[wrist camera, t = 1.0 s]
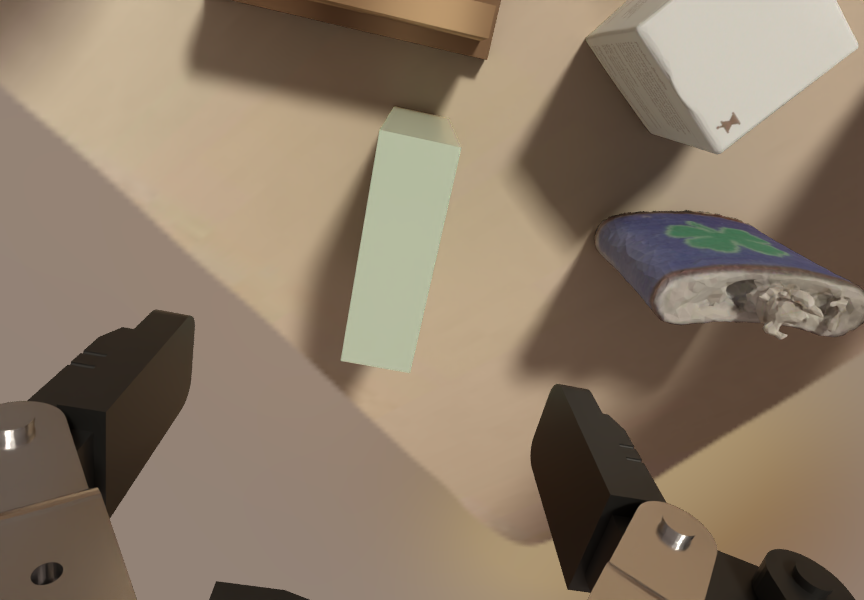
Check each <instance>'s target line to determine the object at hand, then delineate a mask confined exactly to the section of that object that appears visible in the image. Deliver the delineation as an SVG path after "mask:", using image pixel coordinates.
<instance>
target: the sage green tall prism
mask: <svg viewBox="0 0 864 600" xmlns="http://www.w3.org/2000/svg"><path fill="white" fill-rule="evenodd" d="M460 152H461V145H460V143H459V141H458V138H457V136H456V134H455V131H454V129H453V126H452V124H451V122H450V119H449V118H446V117H441V116H437V115H432V114H428V113H423V112H419V111H414V110H410V109H405V108H401V107H396V106H394V107H393V109H392V110H391V112H390V114H389V115H388V117H387V119H386V120H385V122H384V123H383V125H382V127H381V128H380V131H379V137H378V143H377V149H376V154H375V160H374V166H373V172H372V178H371V184H370V190H369V196H368V202H367V208H366V214H365V220H364V225H363V231H362V237H361V243H360V249H359V255H358V261H357V267H356V273H355V279H354V285H353V291H352V297H351V302H350V308H349V314H348V320H347V326H346V332H345V338H344V344H343V350H342V356H341V361H344V362H350V363H356V364H361V365H367V366H373V367H378V368H384V369H390V370H395V371H401V372H407V373H410V371H411V367H412V362H413V358H414V354H415V349H416V345H417V340H418V336H419V332H420V327H421V323H422V318H423V314H424V310H425V305H426V301H427V297H428V292H429V288H430V283H431V279H432V275H433V270H434V266H435V261H436V257H437V253H438V248H439V244H440V239H441V235H442V231H443V226H444V222H445V217H446V213H447V209H448V204H449V200H450V196H451V191H452V187H453V182H454V178H455V174H456V169H457V165H458V160H459V156H460Z"/></svg>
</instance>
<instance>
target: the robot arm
mask: <svg viewBox="0 0 864 600" xmlns="http://www.w3.org/2000/svg"><path fill="white" fill-rule="evenodd" d="M194 330H195V322H194V318H193V317H192V316H189V315H183V314H178V313H173V312H167V311H162V310H154V311H152V312H151V313H150V314H149V315H148V316H147V317H146V318H145V319H144V320H143V321H142V322H141V323H140V324H139V325H138V326H137V327H136V328H135V329H130V328H124V327H122V328H120V329H117V330H115V331H112V332H110V333H108V334H105V335H103V336H100V337H98V338H97V339H96V340H95V341H94V342H93V343H92V344H91V345H89V346H88V347H87V348H86V349H85V350H84V352H83V354H82V353H80V354H79V355H78V356H77V357H76V358H75V359H74V360H73V361H71V364H70V365H67V366H66V367H65V368H64V369H62V370H61V371H60V372H59V373H58V374H57V375H56V376H55V377H54V378H53V379H51V380H50V381H49V382H48V383H47V384H46V385H45V386H43V387H42V388H41V389H40V390H39V391H38V392H37V393H36V394H34V395H33V396H32V397H31V398H30V399H29V400H28V401H16V402H8V403H3V404H0V600H137V598H136V595H135V592H134V590H133V586H132V583H131V580H130V578H129V575H128V572H127V569H126V566H125V563H124V560H123V557H122V554H121V551H120V548H119V545H118V543H117V539H116V537H115V533H114V531H113V528H112V525H111V522H110V517H111V516H112V514H113V513H114V511H115V510H116V508H117V507H118V505H119V503H120V502H121V501H122V499H123V498H124V496H125V495H126V493H127V491H128V490H129V488H130V487H131V485H132V484H133V482H134V481H135V479H136V478H137V476H138V475H139V473H140V472H141V470H142V469H143V467H144V465H145V464H146V462H147V461H148V460H149V458H150V457H151V455H152V453H153V452H154V450H155V449H156V447H157V446H158V444H159V443H160V441H161V440H162V438H163V437H164V435H165V434H166V432H167V431H168V429H169V428H170V426H171V425H172V423H173V421H174V420H175V418H176V417H177V415H178V414H179V412H180V411H181V409H182V407H183V406H184V404H185V401H186V398H187V396H188V392H189V389H190V384H191V373H192V359H193V345H194ZM641 460H642V459H641V458H640V456H639V454H638V452H637V451H636V450H635V449H634V445H633V444H632V442H631V440H630V438H629V437H628V435H627V433H626V431H625V430H624V429H623V428H622V427H621V426H620V425H619V424H618V423H617V422H615V421H614V420H613V419H612V418H611V417H610V416H609V415H607V414H602V412H601V410H600V408H599V406H598V404H597V402H596V401H595V399H594V397H593V395H592V393H591V392H590V391H589V390H588V389H583V388H577V387H572V386H566V385H561V384H556V385H554V386H553V388H552V389H551V391H550V394H549V396H548V399H547V402H546V405H545V407H544V410H543V413H542V416H541V418H540V421H539V424H538V427H537V429H536V432H535V435H534V438H533V441H532V446H531V466H532V470H533V473H534V477H535V480H536V484H537V487H538V490H539V494H540V497H541V501H542V504H543V507H544V511H545V514H546V518H547V521H548V524H549V528H550V531H551V535H552V538H553V541H554V545H555V548H556V552H557V555H558V558H559V562H560V565H561V569H562V572H563V575H564V579H565V582H566V586H567V589H568V590H576V591H582V592H589V593H591V594H590V596H589V597H588V599H587V600H855V599H854V597H853V596H852V595H851V593H850V592H849V591H848V590H847V588H846V587H845V586H844V585H843V584H842V583H841V582H840V581H839V580H838V579H837V578H836V577H835V576H834V575H833V574H832V573H830V572H829V571H828V570H826V569H825V568H824V567H822V566H821V565H819V564H818V563H816V562H815V561H813V560H811V559H809V558H807V557H805V556H803V555H801V554H798V553H795V552H792V551H789V550H783V549H775V550H771V551H770V552H768V553H767V555H766V556H765V558H764V560H763V561H762V563H761V565H760V566H759V567H758V566H756V565H753V564H750V563H748V562H746V561H743V560H740V559H738V558H735V557H733V556H730V555H728V554H725V553H722V552H720V551H718V550H717V545H716V543H715V540H714V538H713V537H712V535H711V533H710V532H709V531H708V530H707V528H705V527H704V525H703V524H702V523H701V522H699V521H698V520H697V519H696V518H695V517H693V516H692V515H690V514H689V513H687V512H685V511H684V510H682V509H680V508H678V507H676V506H674V505H671V504H668V503H666V501H665V499H664V498H663V496H662V494H661V492H660V491H659V489H658V487H657V486H656V484H655V482H654V480H653V478H652V477H651V475H650V473H649V471H648V470H647V468H646V466H645V465H644V463H641ZM209 600H309V599H306V598H304V597H301V596H299V595H296V594H293V593H291V592H288V591H285V590H279V589H271V588H263V587H256V586H248V585H240V584H233V583H224V582H216V584H215V586H214V589H213V591H212V594H211V597H210V599H209Z"/></svg>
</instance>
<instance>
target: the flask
mask: <svg viewBox="0 0 864 600" xmlns="http://www.w3.org/2000/svg"><path fill="white" fill-rule="evenodd" d="M598 229H599V230H598ZM595 246H596V248H597V250H598V252H599V253H600V254H601V255H602V256H603V257H604V258H605V259H606V260H607V261H608V262H609V263H610V264H611V265H612V266H614V267H615V268H616V269H617V270H618V271H619V272H620V274H621V275H622V276H623V277H624V278H625V279H626V281H627V282H628V283H629V284H631V285H632V287H633V288H634V289H635V290H636V291H637V292H638V294H639V295H640V296H641V297H642V298H643V299H644V301H645V303H646V304H647V305H648V306H649V307H650V308H651V309H652V311H653V312H654V313H655V314H656V315H657V317H658V318H659V319H660V320H662V321H665V322H668V323H670V324H677V325H687V324H694V323H708V322H719V321H724V322H733V321H734V322H751V323H763V324H765V325H764V326H763V330H764V331H765V333H767V334H769V335H773V336H775V337H776V338H778V339H779V340H781V339H784V338H785V337H787V334H783V333H781V332H779V327H780V326H781V325H783V326H789V327H795V328H798V329H802V330H805V331H808V332H811V333H814V334H817V335H820V336H828V337H837V336H842V335H844V334H846V333H847V332H848V331H850V330H855V329H856V328H857V327H858V326H860V325H861V324H863V323H864V290H863V289H861V287H860V286H858V285H855V284H853V283H852V282H850V281H849V280H847V279H845V278H842V277H841V276H838V275H836V274H834V273H832V272H831V271H829V270H827V269H826V268H824V267H822V266H820V265H818V264H816V263H814V262H812V261H811V260H809V259H807V258H805V257H803V256H802V255H800V254H798V253H796V252H794V251H792V250H791V249H789V248H787V247H785V246H784V245H782V244H780V243H778V242H776V241H774V240H773V239H772V238H769V237H768V236H767V235H765V234H763V233H761V232H760V231H758V230H757V229H756V228H754V227H753V226H751V225H749V224H746V223H743V222H742V221H741V220H738V219H736V218H730V217H725V216H722V215H720V214H716V213H715V214H710V213H708V212H705V213H704V212H701V211H698V212H692V211H689V210H688V211H687V210H686V211H679V212H678V211H676V212H675V211H664V212H663V211H658V212H656V211H653V212H645V211H643V212H635V213H631V212H628V213H624V214H619V215H614V216H611V217H608V219H606V220H603V221H602V223H601V224H600V225H599V226H598V228H597V230H596V235H595Z"/></svg>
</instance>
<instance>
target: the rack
mask: <svg viewBox="0 0 864 600" xmlns="http://www.w3.org/2000/svg"><path fill="white" fill-rule="evenodd" d="M233 1H237V2H241V3H246V4H250V5H254V6H258V7H263V8H267V9H271V10H275V11H280V12H284V13H288V14H293V15H297V16H301V17H305V18H310V19H314V20H318V21H322V22H327V23H331V24H335V25H340V26H344V27H348V28H352V29H357V30H361V31H365V32H369V33H374V34H378V35H382V36H387V37H391V38H395V39H399V40H404V41H408V42H412V43H416V44H421V45H425V46H429V47H434V48H438V49H442V50H446V51H451V52H455V53H459V54H463V55H468V56H472V57H476V58H481V59H485V60H487V58H488V54H489V49H490V45H491V41H492V36H493V32H494V28H495V24H496V19H497V15H498V11H499V6H500V2H501V0H233Z"/></svg>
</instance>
